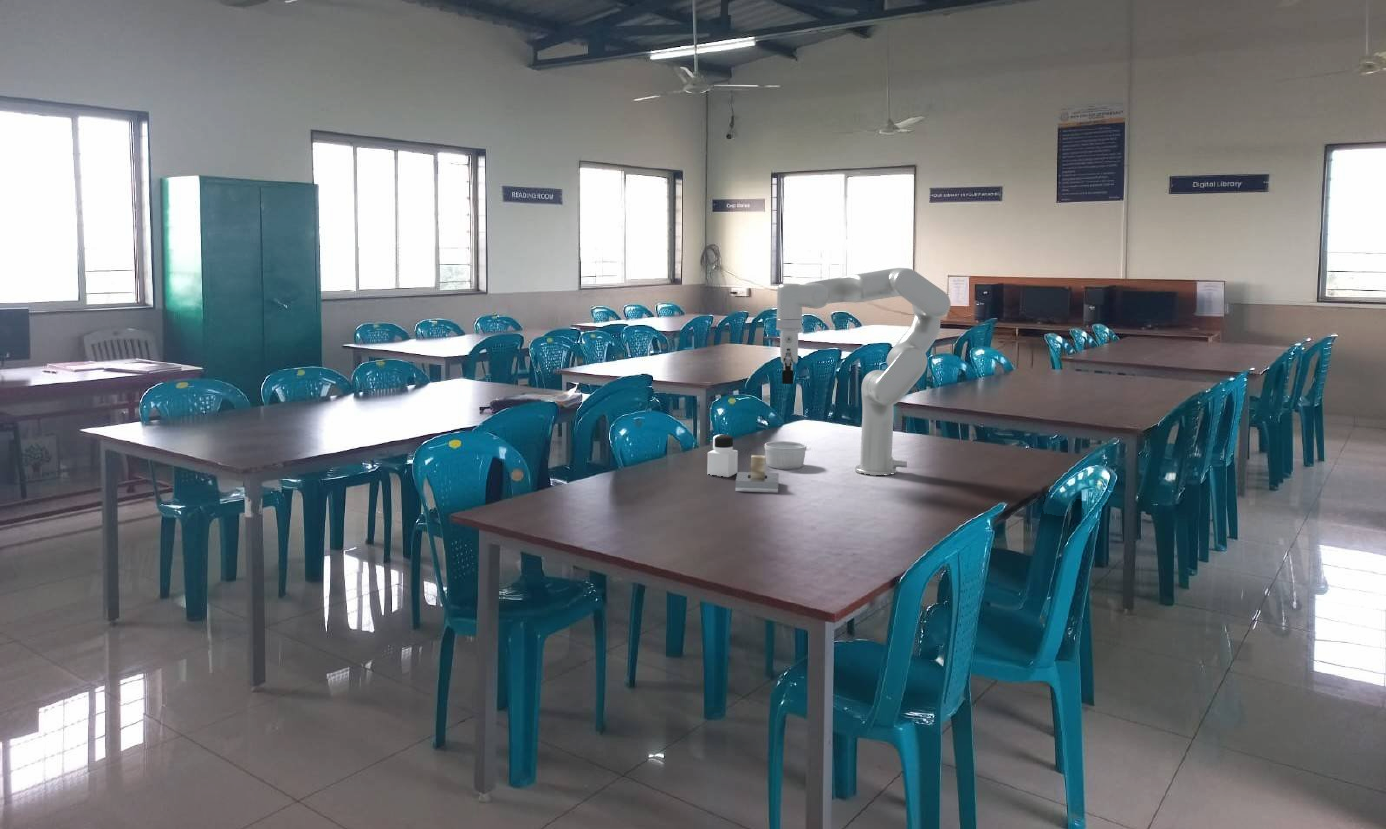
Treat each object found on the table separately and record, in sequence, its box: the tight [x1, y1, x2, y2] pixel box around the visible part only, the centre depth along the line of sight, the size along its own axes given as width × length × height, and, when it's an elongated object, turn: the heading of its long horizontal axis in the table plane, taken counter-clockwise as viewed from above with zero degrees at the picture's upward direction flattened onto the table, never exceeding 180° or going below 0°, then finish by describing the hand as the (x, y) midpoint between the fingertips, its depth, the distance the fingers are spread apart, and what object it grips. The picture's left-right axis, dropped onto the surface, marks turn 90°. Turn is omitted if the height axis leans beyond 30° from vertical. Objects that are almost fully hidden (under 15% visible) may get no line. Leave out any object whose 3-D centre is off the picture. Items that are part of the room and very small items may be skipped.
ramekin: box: [764, 440, 807, 470], centre depth 326 cm, size 13×13×7 cm
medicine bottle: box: [706, 433, 739, 478], centre depth 313 cm, size 7×7×12 cm
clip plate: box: [735, 471, 779, 493], centre depth 297 cm, size 12×12×3 cm
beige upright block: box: [750, 454, 766, 479], centre depth 296 cm, size 4×3×8 cm
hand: (787, 381), depth 312 cm, fingers open, 9 cm apart
